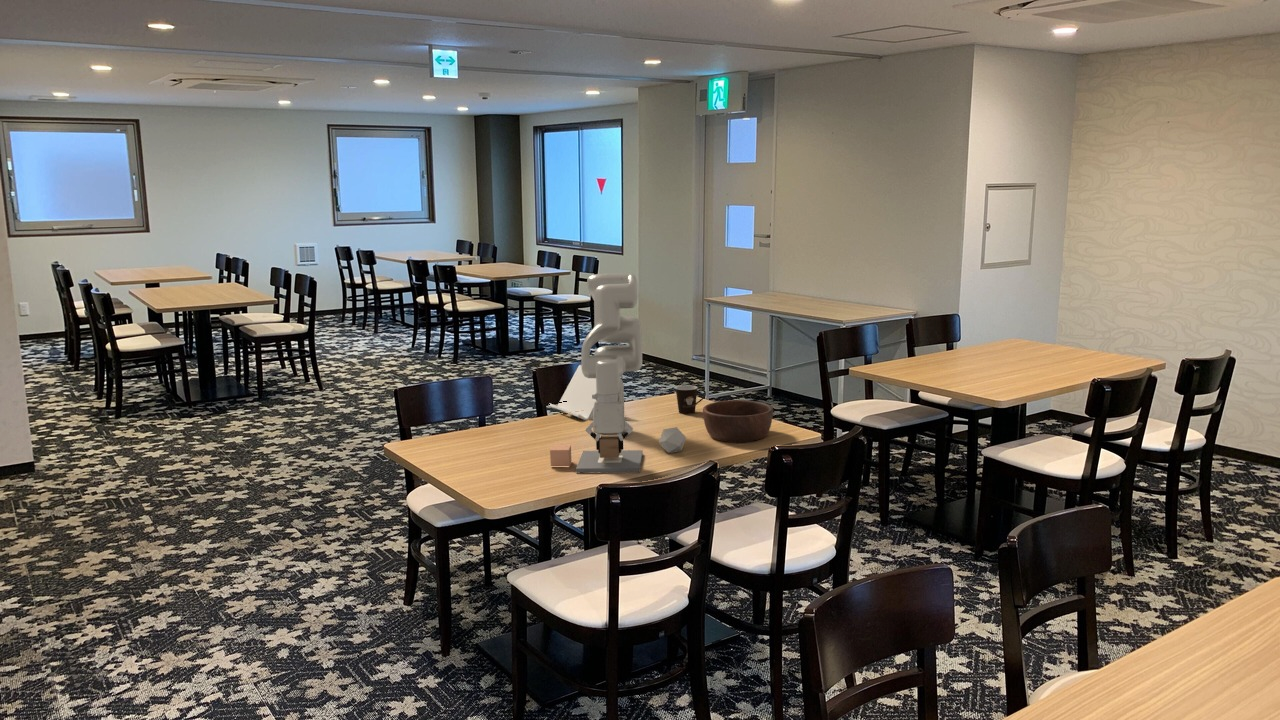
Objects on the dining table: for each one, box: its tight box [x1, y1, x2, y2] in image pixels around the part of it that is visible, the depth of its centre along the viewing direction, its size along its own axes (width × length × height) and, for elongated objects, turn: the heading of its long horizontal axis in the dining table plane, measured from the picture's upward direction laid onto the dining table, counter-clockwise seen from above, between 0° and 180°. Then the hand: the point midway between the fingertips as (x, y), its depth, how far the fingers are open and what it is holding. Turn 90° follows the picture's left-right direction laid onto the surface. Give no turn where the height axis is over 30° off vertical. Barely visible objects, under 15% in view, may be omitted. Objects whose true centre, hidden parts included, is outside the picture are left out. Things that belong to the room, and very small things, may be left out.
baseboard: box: [575, 449, 644, 474], centre depth 308 cm, size 20×20×2 cm
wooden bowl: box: [702, 399, 774, 443], centre depth 337 cm, size 25×25×10 cm
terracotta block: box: [549, 444, 573, 467], centre depth 307 cm, size 6×6×6 cm
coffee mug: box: [675, 384, 707, 415], centre depth 372 cm, size 12×9×10 cm
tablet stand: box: [548, 364, 596, 421], centre depth 377 cm, size 18×25×17 cm
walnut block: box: [599, 434, 620, 458], centre depth 307 cm, size 6×6×6 cm
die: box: [658, 426, 687, 454], centre depth 320 cm, size 8×9×10 cm
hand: (610, 451), depth 307 cm, fingers closed on walnut block, 6 cm apart
